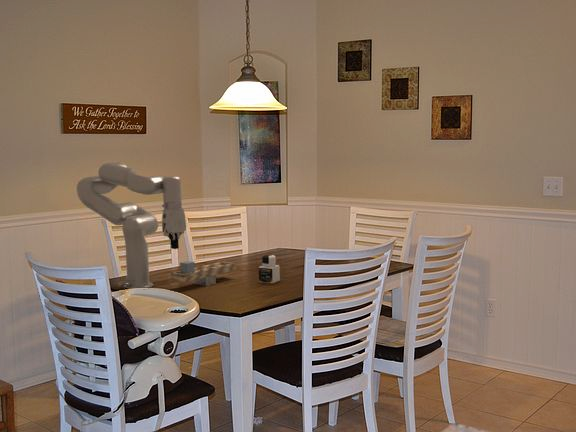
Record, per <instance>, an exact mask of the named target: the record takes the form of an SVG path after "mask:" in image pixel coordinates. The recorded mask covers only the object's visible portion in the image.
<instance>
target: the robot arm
mask: <svg viewBox="0 0 576 432" xmlns="http://www.w3.org/2000/svg"><path fill="white" fill-rule="evenodd" d="M181 181H182V180H181V177H179V176H175V175H174V176H166V175H154V176H142V175H139V174H137V172H136V170H135V169H134V168H132V167H128V166H127V165H126V163H124V162H121V161H119V162H106V163H104V164H102V165H101V166H100V167H99V168H98V175H95V176H93V175H92V176H87V177H83V178H82V179H80V180H79V181H78V182H77V184H76V193H77V197H78V199H79V201H80V202H81V203H82V205H84V206H85V207H86V208H88V209H90V210H91V211H93V212H95V213H96V214H98V215H99V216H101V217H102V218H103V219H105V220H106V221H107V222H110V223H111V224H113V226H122V227H121V228H122V234H123V237H124V246H125V261H126V265H125V267H126V277H125V278H124V280H123V281H118V282H117V285H118V287H123V288H124V287H126V288H137V287H145V288H148V289H151V288H153V287H154V283H153V282H151V281H150V268H149V265H150V264H149V247H148V242H147V240H146V238H145V237H146V236H150V235H153V234H154V233H156V232H157V230H158V228H159V221H158V219H157V218H156V216H155V215H153V214H152V213H151V212H149V211H148V210H146V209H144V208H143V207H141V206H140V205H138V204H136V203H133V202H122V203H118V202H116V201H114V200H112V199H111V198H109V197H107V196H105V194H108V193H111V192H112V191H113V190H114V189H117V187H118V186H120V187H124V188H127V189H128V190H129V191H131V192H133V193H136V194H137V193H138V194H142V195H146V196H151V195H158V194H162V195H163V197H162V198H163V204H161V205H162V206H161V207H162V208H163V210H162V216H161V229H162V233H163V236H164V237H168V240H170V249H172V250H178V249H179V247H180V245H179V240H180V237H181V235H183V234H185V231H186V230H187V222H186V221H187V219H186V214H185V210H184V209H185V208H183V205H182V186H181V185H182V184H181V183H182V182H181ZM152 286H153V287H152ZM150 287H151V288H150Z"/></svg>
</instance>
